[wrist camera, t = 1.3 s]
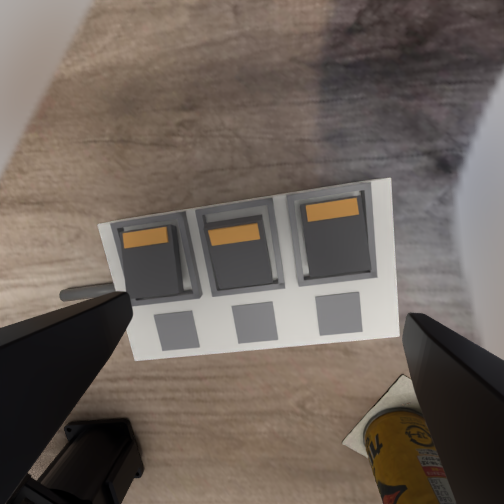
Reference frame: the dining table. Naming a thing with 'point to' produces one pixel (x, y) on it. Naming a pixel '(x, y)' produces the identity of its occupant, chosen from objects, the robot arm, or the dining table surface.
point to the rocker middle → (239, 251)
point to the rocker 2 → (335, 236)
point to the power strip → (262, 295)
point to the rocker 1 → (151, 261)
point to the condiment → (401, 450)
